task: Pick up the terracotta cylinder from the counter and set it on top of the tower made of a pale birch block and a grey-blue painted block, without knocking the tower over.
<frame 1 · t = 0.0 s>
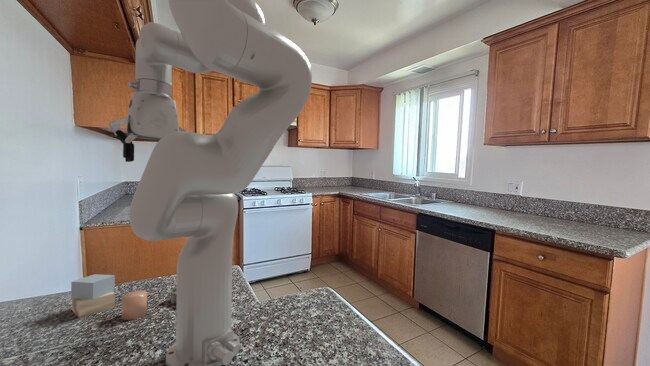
hand: (152, 163, 67), 37 cm above the countertop, tool pointing down, fingers open, 9 cm apart
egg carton: (191, 301, 76), on the countertop
tower top block: (93, 294, 71), point 4 cm above the countertop, touching tower base block
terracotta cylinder: (134, 315, 67), on the countertop
tower base block: (93, 310, 71), on the countertop, touching tower top block
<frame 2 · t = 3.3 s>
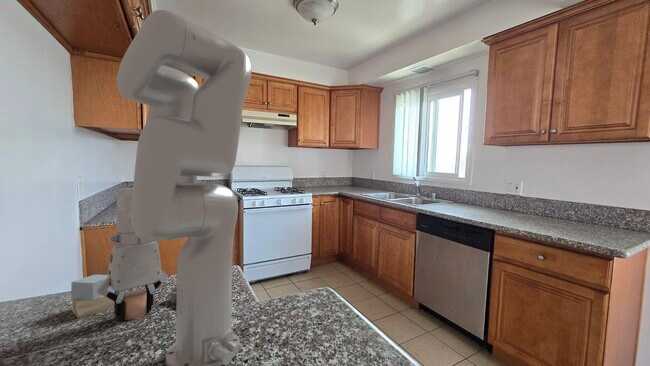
hand: (134, 312, 67), 0 cm above the countertop, tool pointing down, fingers closed on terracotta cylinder, 4 cm apart
tower top block: (93, 294, 70), point 4 cm above the countertop
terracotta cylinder: (134, 314, 67), on the countertop, touching gripper
tower base block: (93, 310, 70), on the countertop
everything else where it was.
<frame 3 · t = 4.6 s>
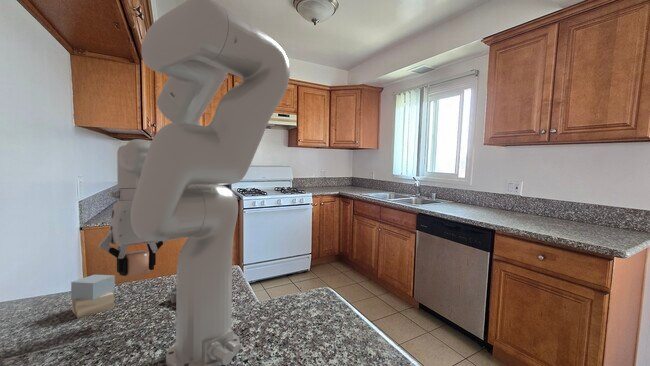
hand: (137, 271, 67), 11 cm above the countertop, tool pointing down, fingers closed on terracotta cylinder, 4 cm apart
tower top block: (93, 294, 70), point 4 cm above the countertop, touching tower base block
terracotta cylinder: (136, 273, 67), point 10 cm above the countertop, touching gripper
tower base block: (92, 310, 70), on the countertop, touching tower top block
everything else where it was.
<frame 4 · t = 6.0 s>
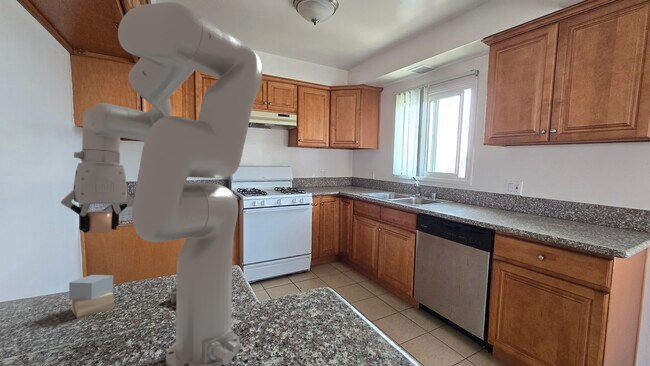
hand: (99, 229, 71), 20 cm above the countertop, tool pointing down, fingers closed on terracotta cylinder, 4 cm apart
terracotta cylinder: (99, 231, 71), point 20 cm above the countertop, touching gripper
everything else where it was.
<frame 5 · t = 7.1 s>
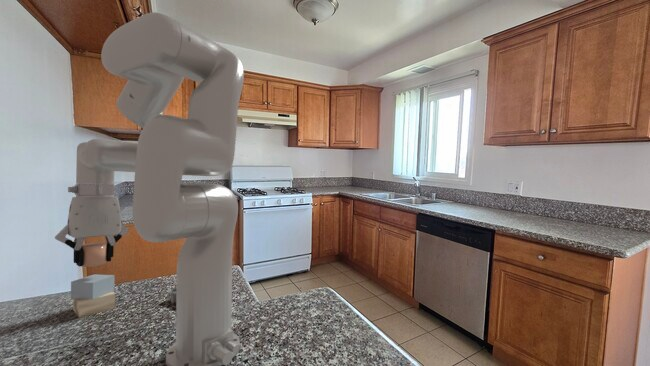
hand: (94, 262, 71), 12 cm above the countertop, tool pointing down, fingers closed on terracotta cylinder, 4 cm apart
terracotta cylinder: (93, 263, 71), point 11 cm above the countertop, touching gripper
everything else where it was.
when the fingers open (10 cm above the countertop, at t = 7.8 s): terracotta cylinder drops 1 cm, resting on tower top block.
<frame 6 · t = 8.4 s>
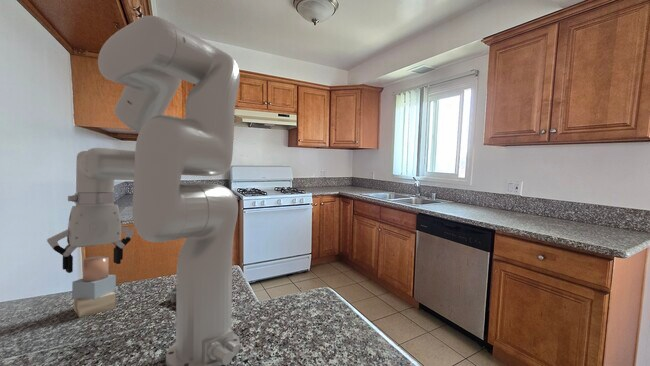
hand: (94, 267, 71), 10 cm above the countertop, tool pointing down, fingers open, 9 cm apart
tower top block: (94, 294, 71), point 4 cm above the countertop, touching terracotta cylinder
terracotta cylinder: (95, 278, 71), point 8 cm above the countertop, touching tower top block
tower base block: (94, 309, 71), on the countertop
everything else where it was.
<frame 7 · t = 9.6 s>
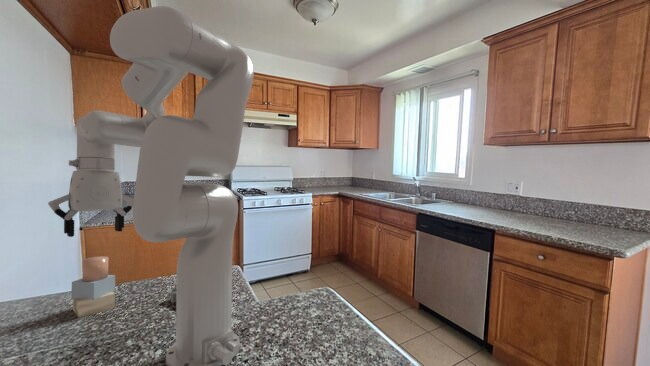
hand: (95, 233, 71), 19 cm above the countertop, tool pointing down, fingers open, 9 cm apart
tower top block: (94, 294, 71), point 4 cm above the countertop, touching tower base block
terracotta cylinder: (95, 278, 71), point 8 cm above the countertop
tower base block: (93, 309, 71), on the countertop, touching tower top block
everything else where it was.
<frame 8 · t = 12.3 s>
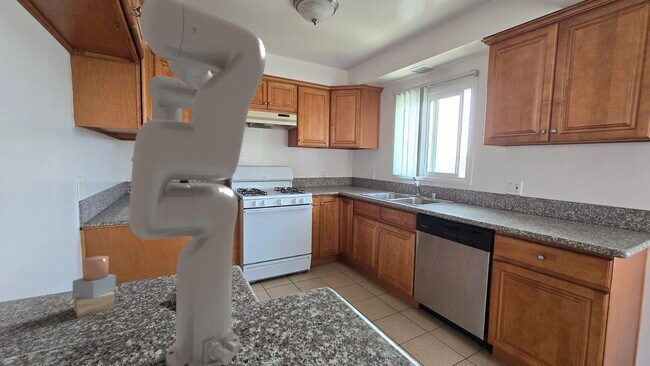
hand: (166, 189, 80), 30 cm above the countertop, tool pointing down, fingers open, 9 cm apart
tower top block: (94, 293, 71), point 4 cm above the countertop, touching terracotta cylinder, tower base block
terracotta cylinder: (96, 277, 71), point 8 cm above the countertop, touching tower top block
everything else where it was.
at the end: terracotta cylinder 0.4 cm off-centre on the tower base block, point 8.0 cm above the tower base block's base; tower top block tilted 0°; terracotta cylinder tilted 1° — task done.
